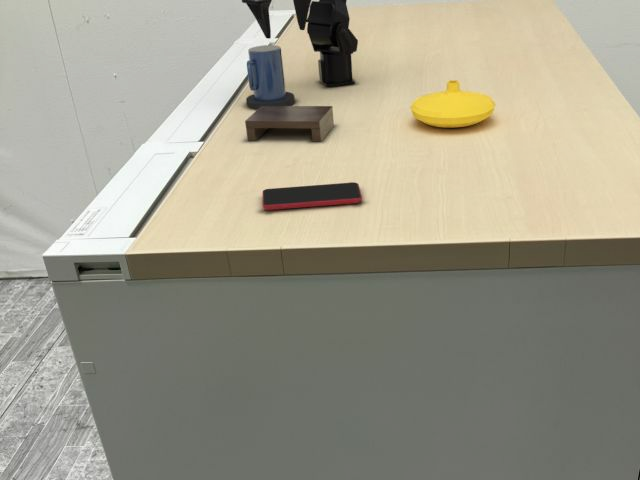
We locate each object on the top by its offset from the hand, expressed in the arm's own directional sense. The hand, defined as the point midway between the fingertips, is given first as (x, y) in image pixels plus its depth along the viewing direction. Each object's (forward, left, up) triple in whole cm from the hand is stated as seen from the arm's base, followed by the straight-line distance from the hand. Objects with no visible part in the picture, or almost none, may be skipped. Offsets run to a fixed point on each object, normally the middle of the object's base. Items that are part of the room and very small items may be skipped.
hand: (285, 34), depth 166 cm
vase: (-24, +32, -12) cm, 42 cm away
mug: (+5, +2, -11) cm, 12 cm away
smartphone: (+10, +61, -12) cm, 63 cm away
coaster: (+5, +2, -12) cm, 13 cm away
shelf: (+5, +25, -12) cm, 28 cm away
